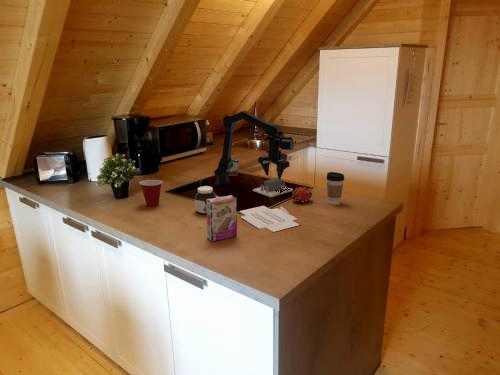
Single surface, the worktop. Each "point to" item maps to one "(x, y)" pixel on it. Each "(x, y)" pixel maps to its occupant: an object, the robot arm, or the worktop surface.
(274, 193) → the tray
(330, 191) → the coffee cup
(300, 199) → the dragon fruit
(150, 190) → the plastic cup
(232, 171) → the food container
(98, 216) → the worktop surface
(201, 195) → the spread jar
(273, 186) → the drive
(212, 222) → the candy bar box
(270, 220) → the paper stack
